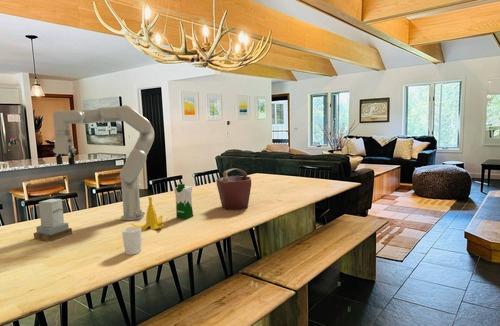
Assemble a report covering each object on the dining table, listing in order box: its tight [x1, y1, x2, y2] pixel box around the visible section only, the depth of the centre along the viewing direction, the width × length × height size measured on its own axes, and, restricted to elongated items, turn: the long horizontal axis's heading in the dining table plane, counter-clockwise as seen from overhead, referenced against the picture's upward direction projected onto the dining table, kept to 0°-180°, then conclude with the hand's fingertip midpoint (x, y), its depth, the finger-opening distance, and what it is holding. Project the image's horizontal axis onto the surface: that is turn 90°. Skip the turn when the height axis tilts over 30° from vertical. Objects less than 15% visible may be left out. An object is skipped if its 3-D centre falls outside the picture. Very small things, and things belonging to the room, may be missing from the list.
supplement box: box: [38, 198, 65, 227], centre depth 168 cm, size 7×7×13 cm
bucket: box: [216, 168, 252, 211], centre depth 217 cm, size 24×22×25 cm
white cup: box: [121, 226, 143, 256], centre depth 145 cm, size 8×8×10 cm
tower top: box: [35, 222, 70, 235], centre depth 169 cm, size 10×10×3 cm
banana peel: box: [130, 196, 164, 230], centre depth 179 cm, size 16×19×17 cm
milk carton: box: [173, 183, 194, 220], centre depth 196 cm, size 9×9×20 cm
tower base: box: [33, 227, 73, 243], centre depth 170 cm, size 12×12×3 cm
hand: (65, 164), depth 186 cm, fingers open, 9 cm apart
